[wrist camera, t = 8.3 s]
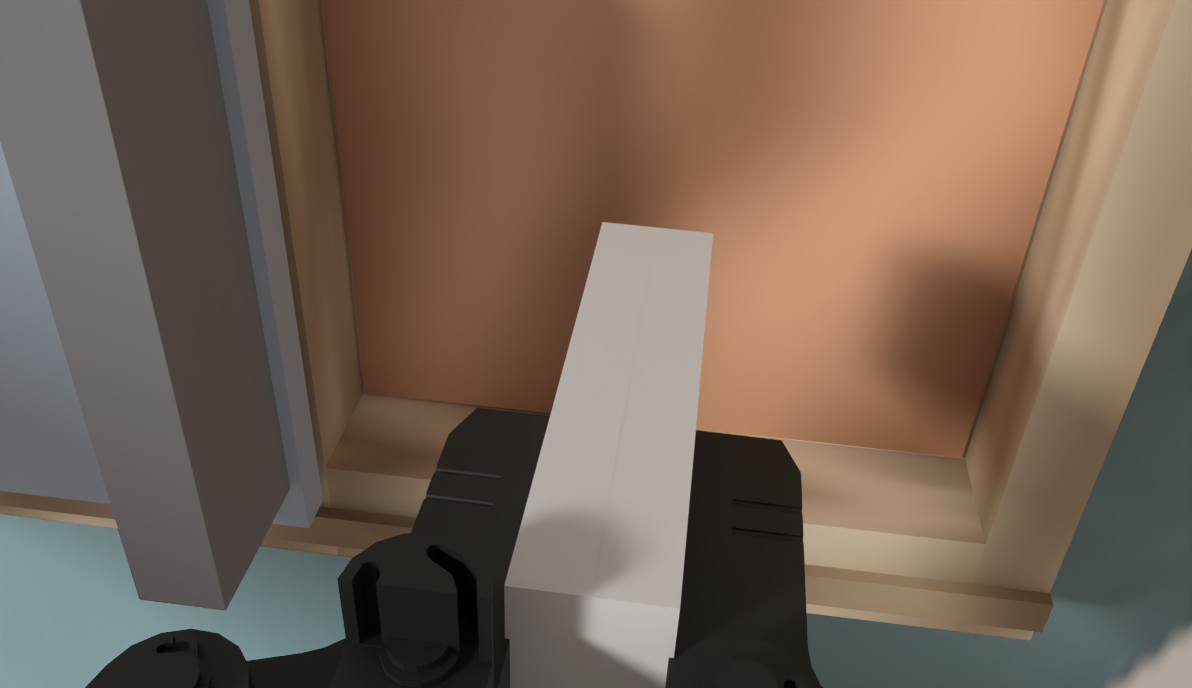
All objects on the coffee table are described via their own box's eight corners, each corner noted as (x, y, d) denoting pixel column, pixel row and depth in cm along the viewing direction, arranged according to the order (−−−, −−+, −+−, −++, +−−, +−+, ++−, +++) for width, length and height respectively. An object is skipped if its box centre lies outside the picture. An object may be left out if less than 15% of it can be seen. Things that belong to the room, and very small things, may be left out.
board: (-191, 397, 27) (-298, 488, 24) (-647, -539, 16) (-927, -566, 14) (1002, 535, 24) (1033, 652, 21) (1359, -458, 14) (1503, -474, 11)
